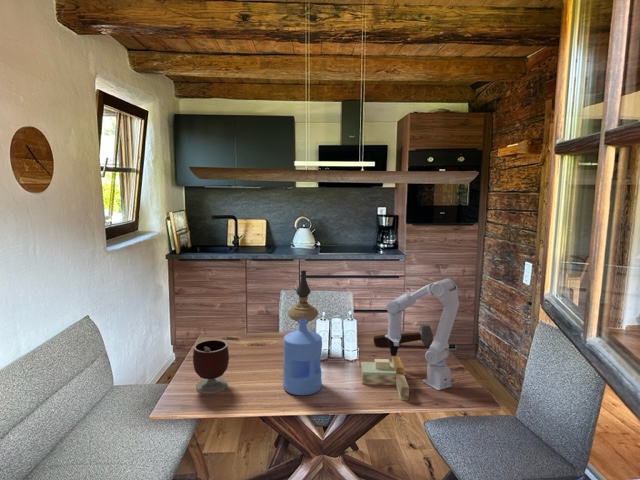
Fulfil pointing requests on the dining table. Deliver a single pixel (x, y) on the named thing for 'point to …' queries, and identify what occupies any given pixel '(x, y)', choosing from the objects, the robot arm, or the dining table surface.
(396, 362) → the golden block
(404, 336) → the hammer
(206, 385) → the mate gourd
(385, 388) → the dining table surface
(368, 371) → the lid
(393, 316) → the robot arm
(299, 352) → the water jug
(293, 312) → the oil lamp
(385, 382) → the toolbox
